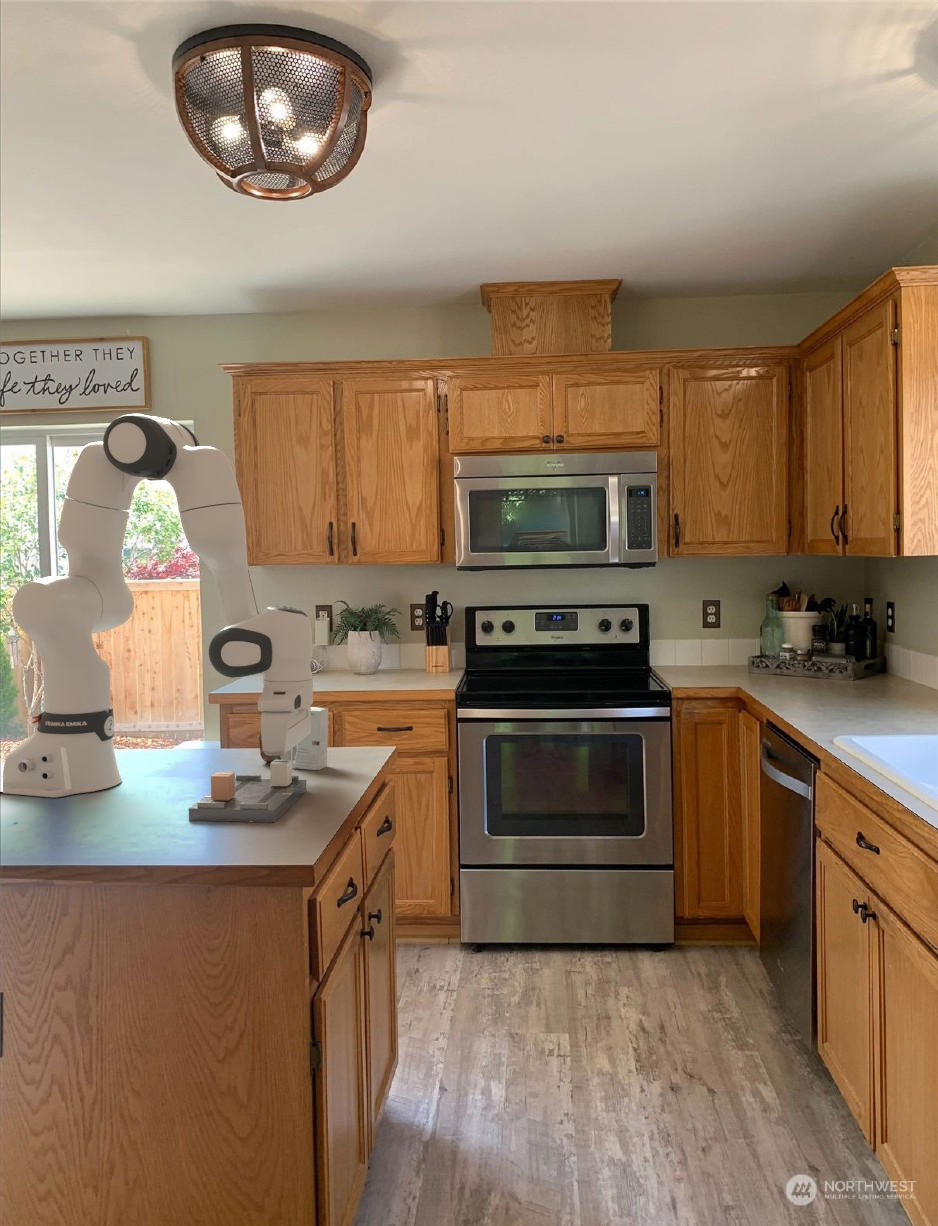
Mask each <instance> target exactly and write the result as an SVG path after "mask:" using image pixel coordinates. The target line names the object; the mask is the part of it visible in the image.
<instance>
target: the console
mask: <svg viewBox="0 0 938 1226" xmlns="http://www.w3.org/2000/svg"><path fill="white" fill-rule="evenodd" d="M306 792H307V779H300V776H299V775H292V782H291V783H290V784H289V785H288V786H270V778H267V779H266V778H262V774H236V775H235V796H234V797H233V798H231V799H230V800H211V792H210V793H209V794H207V795H205V796H204V797H202V798H201V799H200V800H199V801H197V802H196V803H194V804H193V805H191V806H190V807H188V821H189V820H190V821H192V822H193V821H194V822H225V821H245V822H244V823H251V822H250V821H253V822H252V823H265V822H268V823H269V822H271V823H272V822H274V823H275V822H277V820H278V819H280V818H281V817H282V816H283V815H284V813H286V812H287V811H288V808H289V809H290V808H291V807H292V806H293V804H295V803H296V802H297V801H298V800H299V799H300V798H302V796H304V794H305V793H306ZM285 811H286V812H285ZM268 823H267V824H268ZM269 824H270V823H269ZM272 824H273V823H272Z"/></svg>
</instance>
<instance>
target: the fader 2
mask: <svg viewBox="0 0 938 1226" xmlns="http://www.w3.org/2000/svg"><path fill="white" fill-rule="evenodd" d="M269 765H270V766H269V768H270V769H269V773H270V774H269V775H270V776H269V779H270V786H288V785H289V784H290V783H291V782H292V776H293V771H292V770H293V769H292V760H274V761H273V762H269Z"/></svg>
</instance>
